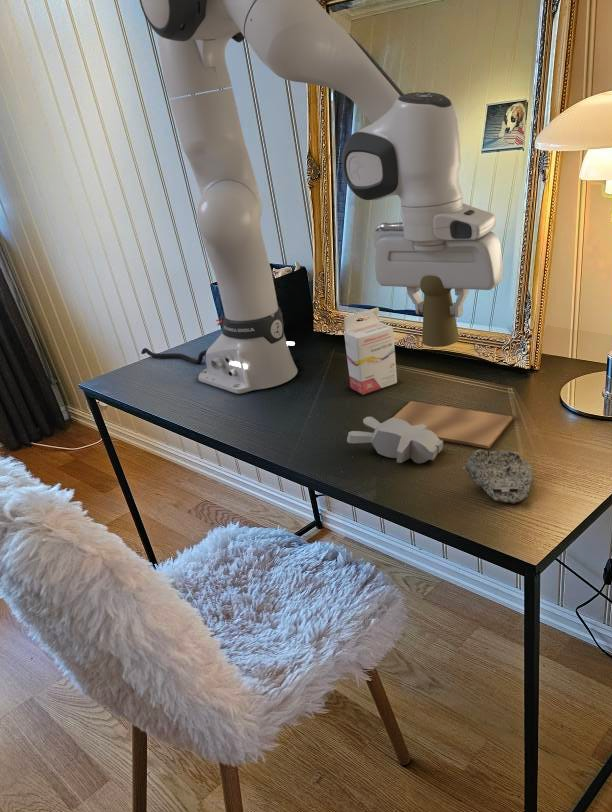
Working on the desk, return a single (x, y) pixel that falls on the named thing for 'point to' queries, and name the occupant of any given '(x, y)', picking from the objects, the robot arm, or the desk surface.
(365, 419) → the bunny figurine
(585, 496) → the desk surface
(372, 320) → the ink cartridge box
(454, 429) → the cork mat
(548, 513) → the desk surface
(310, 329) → the desk surface
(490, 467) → the rock sample
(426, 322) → the pepper shaker
